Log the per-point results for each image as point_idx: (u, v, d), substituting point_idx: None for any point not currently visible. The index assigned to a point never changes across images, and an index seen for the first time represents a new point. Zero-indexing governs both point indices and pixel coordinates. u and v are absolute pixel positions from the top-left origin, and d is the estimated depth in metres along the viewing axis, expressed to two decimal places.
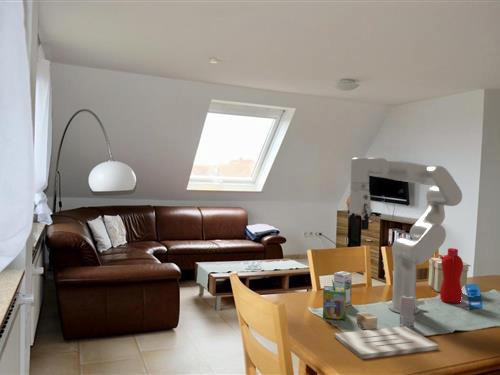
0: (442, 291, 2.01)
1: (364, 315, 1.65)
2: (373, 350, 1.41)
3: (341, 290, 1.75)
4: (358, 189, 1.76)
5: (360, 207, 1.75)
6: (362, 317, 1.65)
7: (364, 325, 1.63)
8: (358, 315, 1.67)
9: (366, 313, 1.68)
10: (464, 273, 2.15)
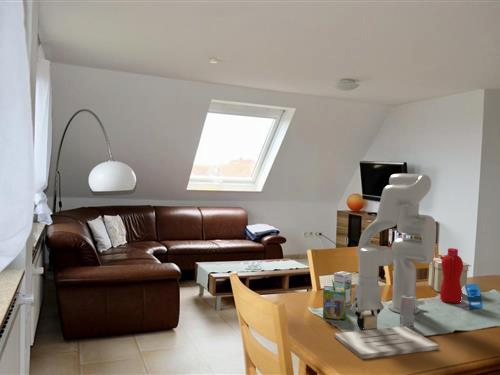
0: (442, 291, 2.01)
1: (364, 315, 1.65)
2: (373, 350, 1.41)
3: (341, 290, 1.75)
4: None
5: (380, 301, 1.65)
6: None
7: (364, 325, 1.63)
8: None
9: (366, 313, 1.68)
10: (464, 273, 2.15)
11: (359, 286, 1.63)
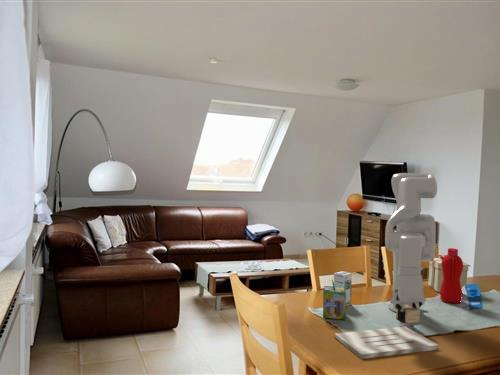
0: (442, 291, 2.01)
1: (405, 308, 1.52)
2: (373, 350, 1.41)
3: (341, 290, 1.75)
4: (420, 273, 1.51)
5: (422, 293, 1.52)
6: None
7: (406, 319, 1.50)
8: None
9: (406, 306, 1.55)
10: (464, 273, 2.15)
11: (400, 276, 1.50)
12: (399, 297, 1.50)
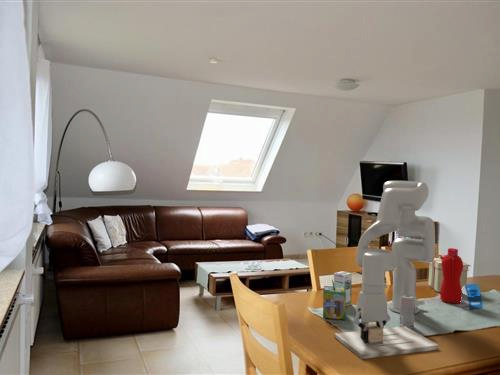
0: (442, 291, 2.01)
1: (368, 326, 1.49)
2: (373, 350, 1.41)
3: (341, 290, 1.75)
4: (384, 292, 1.47)
5: (386, 312, 1.48)
6: None
7: (369, 338, 1.47)
8: None
9: (371, 324, 1.51)
10: (464, 273, 2.15)
11: (363, 295, 1.46)
12: (362, 316, 1.46)
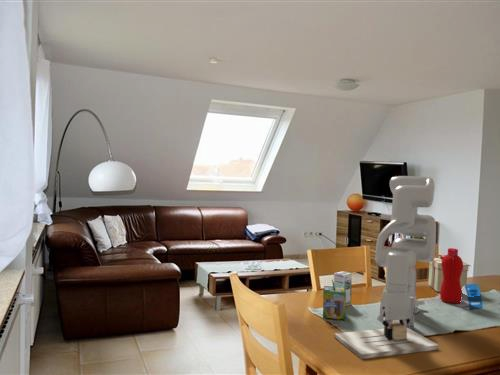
0: (442, 291, 2.01)
1: (392, 324, 1.52)
2: (373, 350, 1.41)
3: (341, 290, 1.75)
4: (407, 290, 1.50)
5: (410, 310, 1.51)
6: None
7: (393, 335, 1.49)
8: None
9: (394, 322, 1.54)
10: (464, 273, 2.15)
11: (387, 293, 1.49)
12: (386, 314, 1.49)
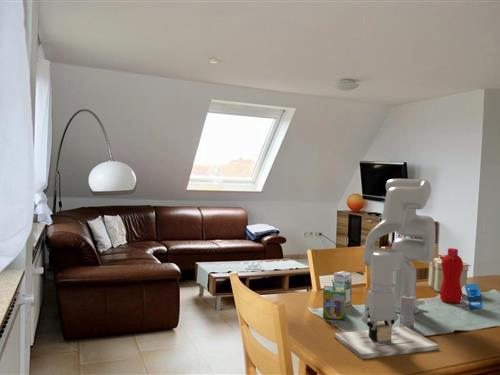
0: (442, 291, 2.01)
1: (377, 325, 1.50)
2: (373, 350, 1.41)
3: (341, 290, 1.75)
4: (392, 291, 1.48)
5: (394, 311, 1.49)
6: None
7: (377, 336, 1.48)
8: None
9: (379, 323, 1.52)
10: (464, 273, 2.15)
11: (372, 294, 1.47)
12: (370, 315, 1.47)
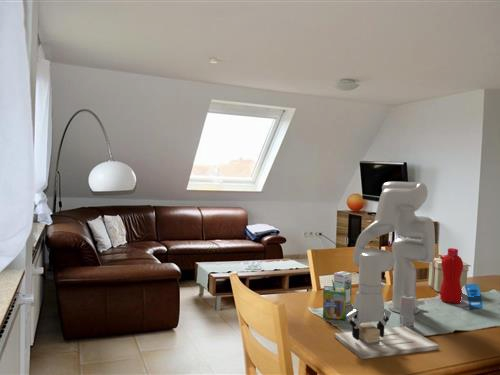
0: (442, 291, 2.01)
1: (365, 327, 1.48)
2: (373, 350, 1.41)
3: (341, 290, 1.75)
4: (380, 292, 1.47)
5: (383, 312, 1.48)
6: (363, 329, 1.48)
7: (365, 338, 1.46)
8: (358, 327, 1.50)
9: (367, 324, 1.51)
10: (464, 273, 2.15)
11: (360, 295, 1.46)
12: (358, 316, 1.46)
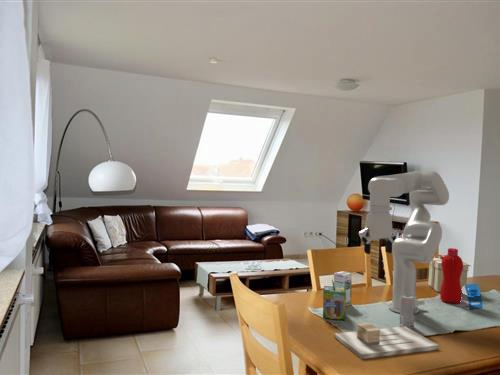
0: (442, 291, 2.01)
1: (365, 327, 1.48)
2: (373, 350, 1.41)
3: (341, 290, 1.75)
4: None
5: (391, 230, 1.68)
6: (363, 329, 1.48)
7: (365, 338, 1.46)
8: (358, 327, 1.50)
9: (367, 324, 1.51)
10: (464, 273, 2.15)
11: (371, 215, 1.66)
12: (370, 233, 1.66)
